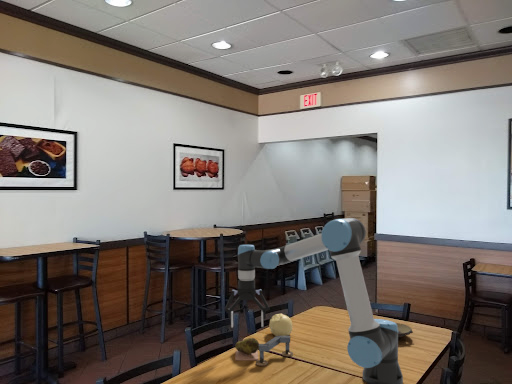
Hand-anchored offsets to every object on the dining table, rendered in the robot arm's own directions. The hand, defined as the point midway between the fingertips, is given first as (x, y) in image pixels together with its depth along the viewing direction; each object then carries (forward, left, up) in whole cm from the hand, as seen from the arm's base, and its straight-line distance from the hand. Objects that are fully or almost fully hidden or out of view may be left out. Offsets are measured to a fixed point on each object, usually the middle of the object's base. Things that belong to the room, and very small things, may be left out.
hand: (247, 326), depth 186 cm
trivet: (0, 0, -13) cm, 13 cm away
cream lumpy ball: (+28, -17, -14) cm, 36 cm away
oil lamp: (+27, -71, -14) cm, 78 cm away
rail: (-4, -12, -13) cm, 19 cm away
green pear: (0, 0, -13) cm, 13 cm away
